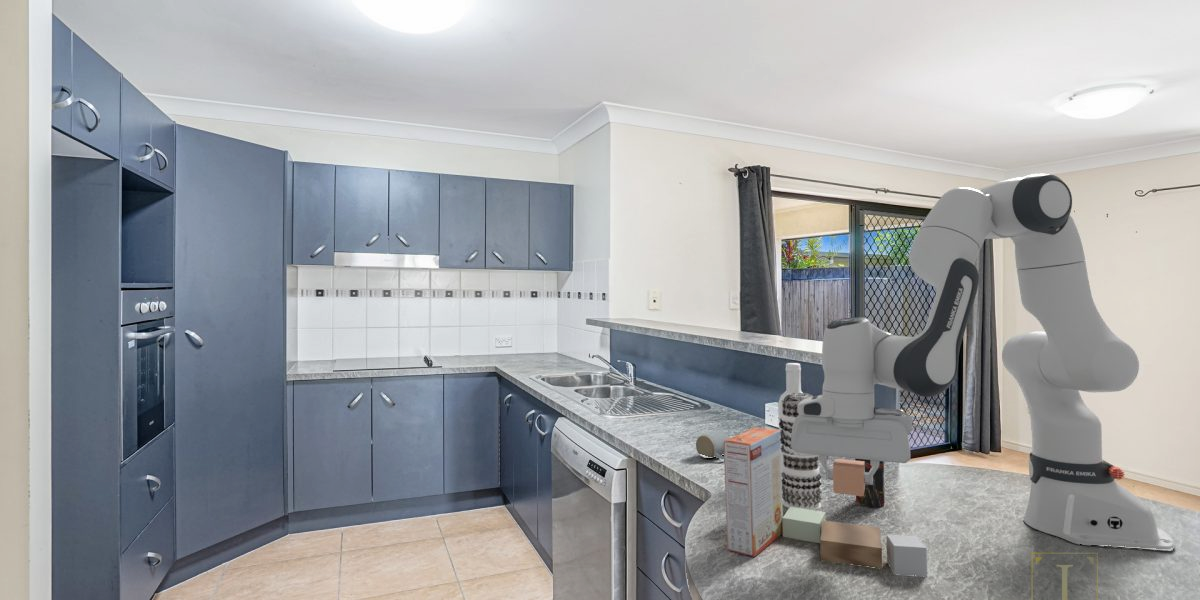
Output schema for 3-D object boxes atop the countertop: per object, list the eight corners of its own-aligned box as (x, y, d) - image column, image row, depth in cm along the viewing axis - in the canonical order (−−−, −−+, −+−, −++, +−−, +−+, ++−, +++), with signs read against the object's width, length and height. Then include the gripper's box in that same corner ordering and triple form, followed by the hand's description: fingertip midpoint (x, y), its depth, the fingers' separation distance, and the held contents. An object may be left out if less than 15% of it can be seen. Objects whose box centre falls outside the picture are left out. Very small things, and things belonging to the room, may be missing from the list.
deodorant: (887, 508, 132) (886, 440, 132) (859, 506, 133) (857, 439, 133) (880, 499, 138) (879, 434, 138) (853, 498, 139) (852, 433, 139)
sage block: (826, 531, 120) (825, 512, 120) (820, 544, 114) (819, 523, 114) (790, 525, 124) (790, 506, 124) (782, 538, 118) (782, 517, 118)
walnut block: (880, 548, 112) (879, 527, 112) (882, 571, 103) (881, 548, 103) (823, 541, 116) (823, 520, 116) (820, 562, 107) (820, 539, 107)
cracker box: (756, 527, 123) (754, 425, 123) (784, 534, 119) (782, 429, 119) (724, 550, 112) (722, 439, 112) (754, 558, 108) (752, 443, 108)
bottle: (818, 482, 151) (816, 364, 151) (793, 486, 148) (791, 366, 148) (797, 473, 158) (795, 361, 158) (772, 477, 156) (770, 363, 155)
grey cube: (917, 564, 105) (917, 536, 105) (926, 577, 100) (926, 547, 100) (886, 562, 106) (886, 534, 106) (894, 575, 101) (894, 545, 101)
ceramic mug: (693, 457, 177) (693, 431, 177) (711, 452, 182) (711, 427, 182) (722, 465, 169) (722, 438, 169) (740, 459, 174) (740, 433, 174)
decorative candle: (772, 505, 135) (770, 395, 135) (792, 494, 142) (790, 390, 142) (811, 514, 129) (809, 399, 129) (829, 503, 135) (827, 393, 135)
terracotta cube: (864, 488, 110) (864, 461, 110) (863, 496, 106) (863, 468, 106) (835, 484, 113) (835, 458, 113) (833, 492, 108) (833, 465, 108)
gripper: (911, 407, 108) (912, 483, 108) (794, 399, 117) (794, 470, 117) (912, 413, 102) (913, 494, 102) (788, 405, 111) (789, 479, 111)
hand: (849, 481), depth 109 cm, fingers closed on terracotta cube, 5 cm apart
